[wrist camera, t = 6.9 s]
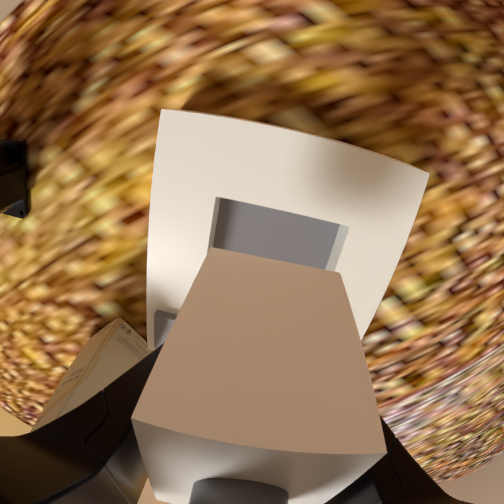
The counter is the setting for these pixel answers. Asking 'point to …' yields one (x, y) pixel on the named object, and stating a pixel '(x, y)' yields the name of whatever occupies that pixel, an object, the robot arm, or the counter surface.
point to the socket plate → (272, 208)
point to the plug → (259, 389)
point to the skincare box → (95, 368)
